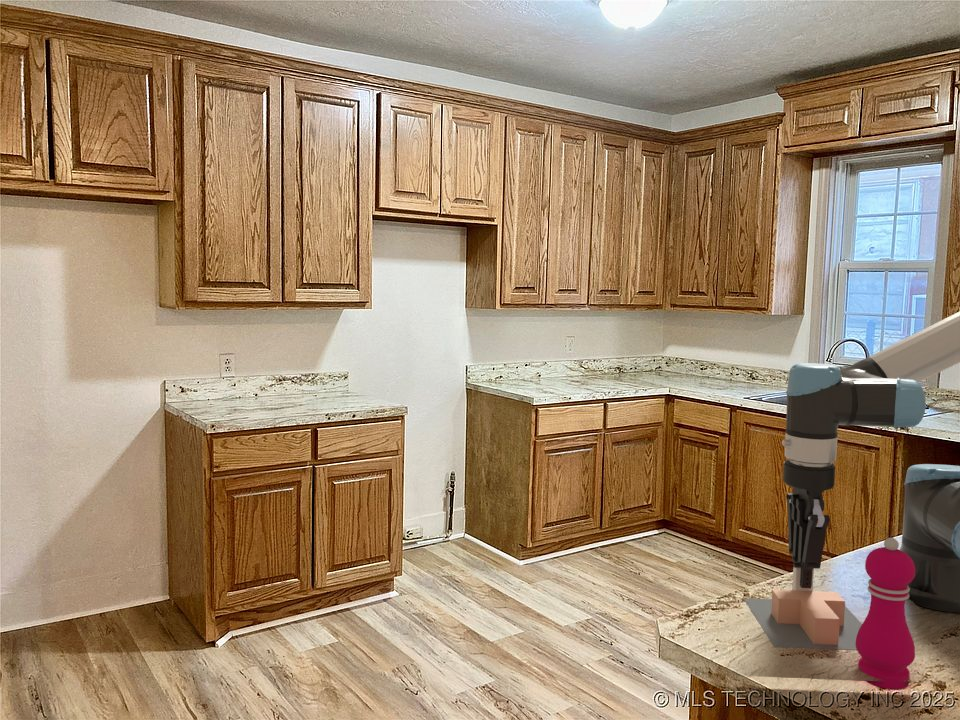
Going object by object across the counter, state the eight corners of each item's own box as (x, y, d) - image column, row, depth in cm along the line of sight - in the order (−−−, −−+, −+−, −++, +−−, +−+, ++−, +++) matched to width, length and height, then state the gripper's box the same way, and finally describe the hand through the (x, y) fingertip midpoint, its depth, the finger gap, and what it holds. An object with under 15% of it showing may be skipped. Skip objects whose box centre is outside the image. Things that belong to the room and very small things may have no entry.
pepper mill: (888, 696, 99) (897, 550, 97) (842, 670, 106) (849, 533, 104) (925, 685, 102) (935, 542, 100) (878, 660, 109) (886, 526, 106)
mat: (840, 608, 126) (840, 601, 126) (887, 658, 109) (887, 651, 109) (742, 604, 127) (743, 598, 127) (774, 654, 110) (774, 646, 110)
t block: (835, 615, 120) (836, 591, 120) (861, 645, 110) (862, 619, 110) (771, 613, 121) (772, 589, 121) (791, 642, 111) (792, 617, 111)
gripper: (772, 451, 126) (765, 586, 128) (798, 471, 113) (790, 621, 115) (818, 452, 125) (811, 588, 127) (850, 472, 112) (841, 623, 115)
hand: (801, 603), depth 121 cm, fingers closed
